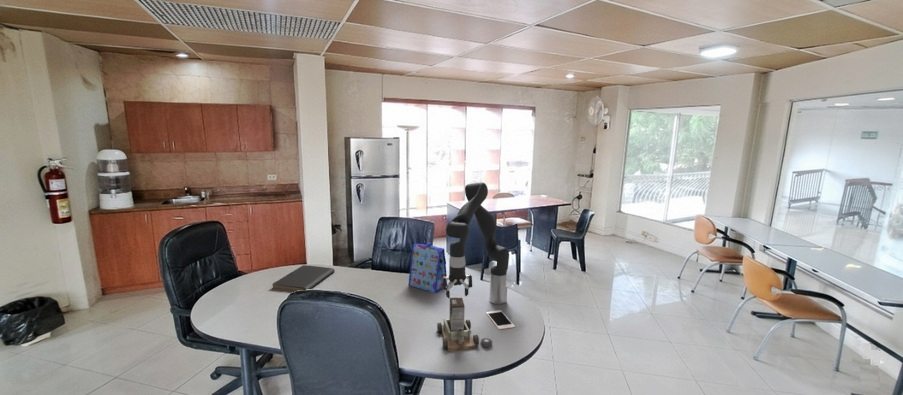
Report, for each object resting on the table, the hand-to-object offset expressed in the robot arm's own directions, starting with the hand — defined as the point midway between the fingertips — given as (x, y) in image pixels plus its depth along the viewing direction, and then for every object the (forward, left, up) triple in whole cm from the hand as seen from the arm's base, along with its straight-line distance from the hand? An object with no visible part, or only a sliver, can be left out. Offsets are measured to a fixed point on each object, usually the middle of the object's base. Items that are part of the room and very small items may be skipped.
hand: (457, 296), depth 175 cm
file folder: (+83, -83, -21) cm, 119 cm away
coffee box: (0, 0, -19) cm, 19 cm away
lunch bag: (+5, -59, -21) cm, 63 cm away
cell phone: (-26, -10, -21) cm, 35 cm away
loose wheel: (-12, +10, -20) cm, 26 cm away
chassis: (0, +2, -20) cm, 20 cm away
